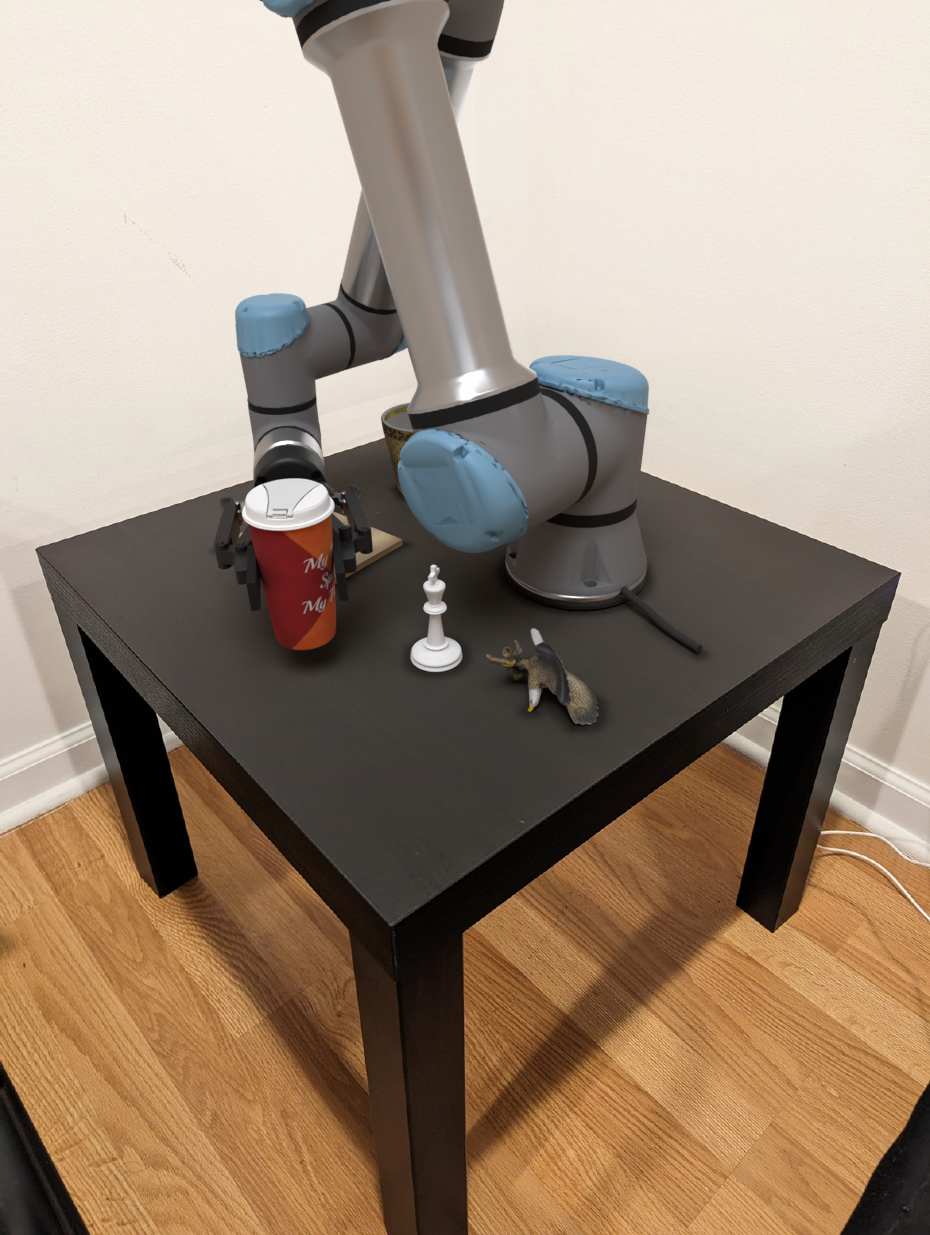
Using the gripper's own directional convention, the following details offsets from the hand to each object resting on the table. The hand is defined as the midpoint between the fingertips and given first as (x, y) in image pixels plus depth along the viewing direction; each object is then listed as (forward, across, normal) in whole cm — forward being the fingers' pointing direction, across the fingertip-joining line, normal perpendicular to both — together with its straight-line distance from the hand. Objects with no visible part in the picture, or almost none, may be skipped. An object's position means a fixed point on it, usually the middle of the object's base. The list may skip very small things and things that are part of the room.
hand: (298, 591), depth 72 cm
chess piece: (-3, -12, -11) cm, 17 cm away
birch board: (-27, -1, -11) cm, 29 cm away
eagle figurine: (+5, -20, -11) cm, 24 cm away
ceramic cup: (-41, -17, -11) cm, 45 cm away
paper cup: (-5, 0, -8) cm, 9 cm away
